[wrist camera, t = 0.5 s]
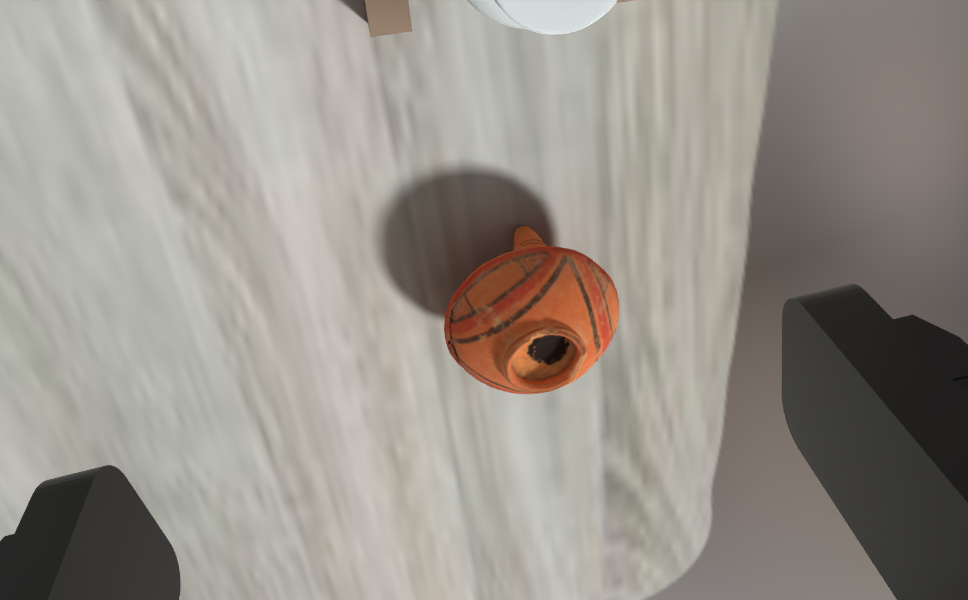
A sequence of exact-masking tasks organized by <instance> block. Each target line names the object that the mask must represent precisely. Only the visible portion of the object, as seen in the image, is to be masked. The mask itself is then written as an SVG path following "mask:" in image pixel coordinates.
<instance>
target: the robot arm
mask: <svg viewBox="0 0 968 600" xmlns="http://www.w3.org/2000/svg"><path fill="white" fill-rule="evenodd" d="M782 403H783V409H784V413H785V417H786V421H787V424H788V427H789V430H790V432H791V435H792V437H793V439H794V441H795V443H796V445H797V447H798V448H799V450H800V452H801V453H802V455H803V456H804V458H805V459H806V461H807V462H808V464H809V465H810V467H811V468H812V470H813V471H814V473H815V475H816V476H817V478H818V479H819V481H820V482H821V484H822V485H823V487H824V488H825V490H826V491H827V493H828V495H829V496H830V498H831V499H832V500H833V502H834V504H835V505H836V507H837V508H838V510H839V512H840V513H841V514H842V516H843V518H844V519H845V521H846V522H847V524H848V525H849V527H850V528H851V530H852V531H853V533H854V534H855V536H856V538H857V539H858V541H859V542H860V543H861V545H862V546H863V548H864V550H865V551H866V553H867V554H868V556H869V558H870V559H871V561H872V562H873V564H874V565H875V567H876V568H877V570H878V571H879V573H880V574H881V576H882V577H883V579H884V581H885V582H886V584H887V585H888V587H889V588H890V590H891V591H892V593H893V594H894V596H895V597H896V599H897V600H968V345H967V344H966V343H965V342H964V341H963V340H962V339H961V338H960V337H958V336H956V335H954V334H952V333H950V332H948V331H946V330H944V329H941V328H939V327H937V326H935V325H933V324H931V323H929V322H927V321H925V320H923V319H920V318H918V317H916V316H914V315H910V316H906V317H901V318H897V319H892V318H891V317H890V316H889V315H888V314H887V313H886V312H885V311H884V310H883V309H882V308H881V307H880V305H879V304H877V302H876V301H875V300H874V299H873V298H872V297H871V296H870V295H869V294H868V293H867V292H866V291H865V290H863V289H862V288H861V287H860V286H858V285H855V284H848V285H844V286H839V287H835V288H832V289H828V290H823V291H819V292H815V293H811V294H807V295H804V296H799V297H795V298H791V299H788V300H787V301H786V302H785V305H784V307H783V315H782ZM179 596H180V571H179V565H178V561H177V557H176V554H175V552H174V549H173V547H172V545H171V544H170V542H169V541H168V539H167V538H166V536H165V535H164V533H163V532H162V530H161V529H160V527H159V526H158V524H157V523H156V521H155V520H154V518H153V517H152V515H151V514H150V512H149V511H148V509H147V508H146V506H145V505H144V503H143V502H142V500H141V499H140V497H139V496H138V494H137V493H136V491H135V490H134V488H133V487H132V485H131V484H130V482H129V481H128V479H127V478H126V477H125V475H124V474H123V473H122V472H121V471H120V470H119V469H118V468H116V467H114V466H111V465H107V466H102V467H98V468H94V469H90V470H86V471H82V472H78V473H74V474H70V475H66V476H62V477H58V478H54V479H50V480H47V481H44V482H42V483H41V484H40V485H39V486H38V487H37V488H36V489H35V491H34V493H33V495H32V497H31V499H30V501H29V503H28V506H27V508H26V510H25V512H24V514H23V516H22V519H21V521H20V523H19V525H18V527H17V530H16V532H15V534H12V535H8V536H4V538H3V539H2V540H1V541H0V600H179Z"/></svg>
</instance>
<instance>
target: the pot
mask: <svg viewBox="0 0 968 600" xmlns="http://www.w3.org/2000/svg"><path fill="white" fill-rule="evenodd" d="M618 315H619V300H618V295H617V291H616V288H615V286H614V283H613V281H612V279H611V278H610V276H609V275H608V274H607V273H606V272H605V271H604V270H603V269H602V268H601V267H600V266H599V265H598V264H596V263H595V262H594V261H593V260H592V259H590V258H589V257H587V256H586V255H584V254H582V253H579V252H577V251H575V250H571V249H566V248H561V247H548V246H547V245H546V244H545V243H544V242H543V240H542V239H541V238H540V236H539V235H538V234H537V233H536V232H535V231H534V230H532V229H531V228H529V227H527V226H520V227H518V228H517V229H516V231H515V234H514V244H513V251H510V252H507V253H504V254H501V255H499V256H497V257H495V258H493V259H491V260H489V261H487V262H485V263H484V264H482V265H481V266H479V267H478V268H477V269H476V270H475V271H473V272H472V273H471V274H470V275H469V276H468V277H467V278H466V280H465V281H464V282H463V283H462V284H461V286H460V287H459V288H458V289H457V291H456V292H455V294H454V295H453V296H452V298H451V299H450V302H449V304H448V307H447V311H446V315H445V324H444V332H445V339H446V344H447V347H448V349H449V352H450V354H451V355H452V356H453V358H454V359H455V360H456V362H457V363H458V364H459V365H460V364H461V366H462V367H463V368H464V369H465V370H466V371H467V372H468V373H469V374H470V375H472V376H473V377H474V378H476V379H477V380H479V381H480V382H482V383H484V384H486V385H488V386H490V387H493V388H495V389H498V390H502V391H506V392H510V393H517V394H538V393H544V392H549V391H553V390H555V389H558V388H560V387H563V386H565V385H567V384H569V383H571V382H573V381H574V380H576V379H578V378H579V377H580V376H582V375H583V374H584V373H585V372H586V371H587V370H588V369H589V368H590V367H591V366H592V365H593V364H594V363H595V362H596V361H597V360H598V359H599V358H600V356H601V355H602V354H603V352H604V351H605V350H606V348H607V347H608V345H609V343H610V341H611V339H612V337H613V335H614V333H615V330H616V326H617V322H618Z"/></svg>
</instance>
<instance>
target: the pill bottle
mask: <svg viewBox="0 0 968 600" xmlns="http://www.w3.org/2000/svg"><path fill="white" fill-rule="evenodd" d="M467 1H468V2H469V3H470V4H471V5H472V6H474V7H475V8H476V9H477V10H478V11H479V12H480V13H482V14H483V15H485V16H486V17H488V18H490V19H492V20H494V21H496V22H498V23H500V24H503V25H506V26H510V27H514V28H522V29H528V30H531V31H533V32H537V33H542V34H567V33H571V32H574V31H577V30H580V29H583V28H585V27H587V26H589V25H591V24H592V23H594V22H595V21H597V20H598V19H599V18H601V17H602V16H603V15H604V14H606V13H607V12H608V11H609V10H610V9H611V7H612V6H613V5H614V4H615V3H616V2H617V0H467Z"/></svg>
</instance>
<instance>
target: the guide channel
mask: <svg viewBox="0 0 968 600" xmlns="http://www.w3.org/2000/svg"><path fill="white" fill-rule="evenodd" d="M625 1H632V0H617V2H616V3H618V2H625ZM364 2H365V8H366V14H367V20H368V25H369V30H370V35H371V37H374V36H381V35H388V34H395V33H402V32H409V31H412V26H411V19H410V11H409V3H408V0H364Z"/></svg>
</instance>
